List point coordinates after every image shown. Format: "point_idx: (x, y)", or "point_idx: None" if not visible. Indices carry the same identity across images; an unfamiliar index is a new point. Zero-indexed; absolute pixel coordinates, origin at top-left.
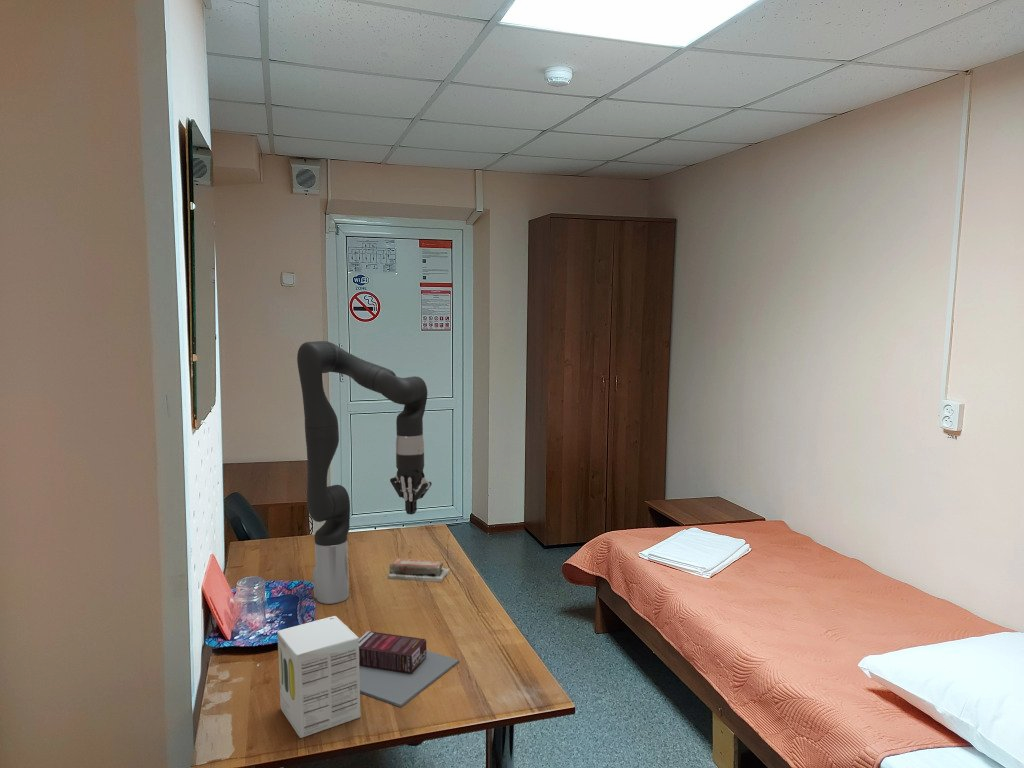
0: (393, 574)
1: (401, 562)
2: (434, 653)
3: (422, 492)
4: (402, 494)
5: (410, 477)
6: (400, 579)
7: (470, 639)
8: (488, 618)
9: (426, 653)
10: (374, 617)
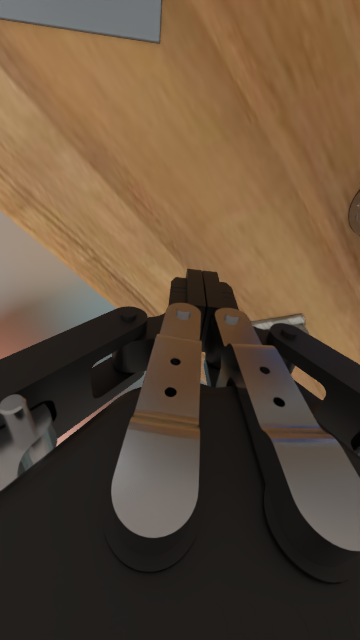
0: (295, 323)
1: None
2: (37, 18)
3: (35, 350)
4: (272, 341)
5: (133, 531)
6: (278, 317)
7: (35, 145)
8: (67, 242)
9: (52, 7)
10: (260, 155)
